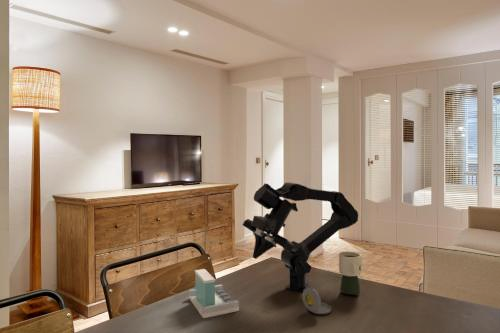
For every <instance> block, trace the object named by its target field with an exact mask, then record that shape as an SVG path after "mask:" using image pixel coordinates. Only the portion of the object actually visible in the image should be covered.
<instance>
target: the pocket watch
mask: <svg viewBox="0 0 500 333" xmlns="http://www.w3.org/2000/svg"><path fill="white" fill-rule="evenodd" d="M310 282H311V283H310ZM307 284H309V287H308V288H306V289H305V290H304V291H303V292H302V302H303V305H304V306H305V308H306V309H307V310H308V311H309V312H311V313H313V314H315V315H327V314H329V313H331V312H332V306H331V305H329V304H327V303H325V302H322V299H321V296H320V295H319V292H318V291H317V290H316V289H315V288H313V287H314V286H315V285H316V284H315V282H314V281H313V280H311V279H308V280H307Z"/></svg>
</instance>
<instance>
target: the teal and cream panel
mask: <svg viewBox="0 0 500 333" xmlns="http://www.w3.org/2000/svg"><path fill="white" fill-rule="evenodd" d="M194 275H195V289H196V297H197V299H198V300H199V301H200V303H201V304H202V305H203V307H206V306H211V305H215V285H216V284H215V282H216V279H215V278H214V276H212V275H211V273H209V272H208V270H206V269H205V268H201V269H194Z"/></svg>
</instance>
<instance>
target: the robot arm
mask: <svg viewBox="0 0 500 333" xmlns="http://www.w3.org/2000/svg"><path fill="white" fill-rule="evenodd" d="M289 200H291V201H294V202H290V201H289ZM306 200H314V201H323V202H329V203H330V209H331V210H332V213H331V216H330V218H329V220H328V221H326V222H325V223H324V224H322V225H321V226H320V227H318V228H317V229H315V231H313V232H312V233H311V234H309V235H308V236H307V237H306V238H304V239H303V240H302V241H300V242H296V241H294V240H292V241H290V240H288V239H287V238H285V237H284V236H282V235H279V233H280V231H281V229H282V228H286V223H285V222H286V220H287V218H288V216H290V213H291V211H294V212H298V211H299V209H298V207H297V202H298V201H306ZM253 201H255V202H256V203H257V204H259V205H261V206H262V207H263V208H264V209H266V210H270V212H269V213H268V212H267V213H266V214H264V216H261V215H260V216H259V215H253V219H252V220H251V219H249V218H247V219H245V220H244V221H243V222H242V226H244V227H245V228H246V229H247V230H249V231H251V232H252V235H253V236H254V239H255V241H254V249H253V254H252V258H253V259H255V260H256V259H258V258H259V257H260V256H263V255H264V254H265V253H266V252H268V251H269V250H271V249H273V248H277V245H278V246H280V247H281V248H283V250H282V251H281V253H280V254H281V255H280V260H281V263H282V264H284V266H285V268H287V269H289V270H288V274H289V275H288V284H287V285H286V286H285V290H291V291H296V292H299V293H303V292H304V290H305V289H306V288H310V284H309V283H307V281H306V280H307V274H310V272H311V270H312V266H311V264H310V263H308V260H309V258H310V255H311V254H312V253H313V252H314V251H315V250H316V249H318V248H319V246H321V245H323V244H324V243H325V242H326V241H327V240H329V239H330V238H331V237H332V236H333V235H335V234H336V233H337V232H339V231H340V230H344V229H347V228H350V227H351V226H352V227H353V225H355V224H356V223H357V222H358V221H359V212H358V211H357V209H355V208H354V205H353V204H352V203H350V202H349V201H348V199H347V198H346V197H345V195H344V193H342V192H340V191H335V190H334V191H333V190H330V191H329V190H324V189H323V190H322V189H318V188H317V189H314V188H311V187H307V186H305V185H303V184H299V183H295V182H285V183H283V185H282V186H281V187H278V188H277V189H274V188H273V187H272V186H271V185H270V184H268V183H263V184H262V186H261V187H259V188H258V189H257V190H256V191H255V192H254V194H253Z"/></svg>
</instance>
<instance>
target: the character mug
mask: <svg viewBox="0 0 500 333" xmlns="http://www.w3.org/2000/svg"><path fill="white" fill-rule="evenodd" d="M338 271H339V273H340V275H342V276H341V281H340V290H339V291H340V292H341V293H343V294H346V295H350V296H352V295H353V296H357V295H360V293H361V289H360V286H361V285H360V280H359V279H360V278H359V277H358V276H360V275H361V274H362V254H361V253H359V252H356V251H347V250H346V251H341V252H339V253H338Z"/></svg>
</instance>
